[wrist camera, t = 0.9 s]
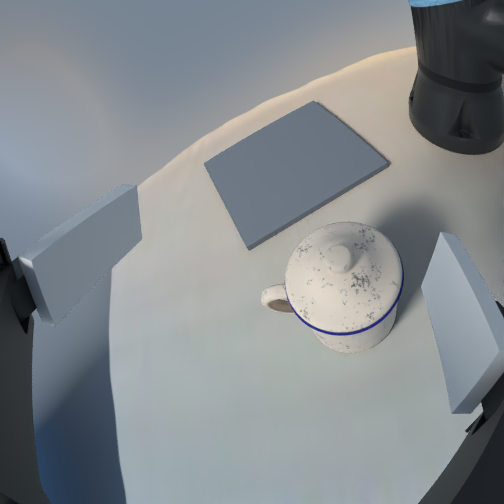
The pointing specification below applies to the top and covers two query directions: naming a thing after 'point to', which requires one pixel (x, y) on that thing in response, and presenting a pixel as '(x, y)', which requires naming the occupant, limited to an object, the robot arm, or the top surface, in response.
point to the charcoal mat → (290, 171)
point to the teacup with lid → (342, 286)
